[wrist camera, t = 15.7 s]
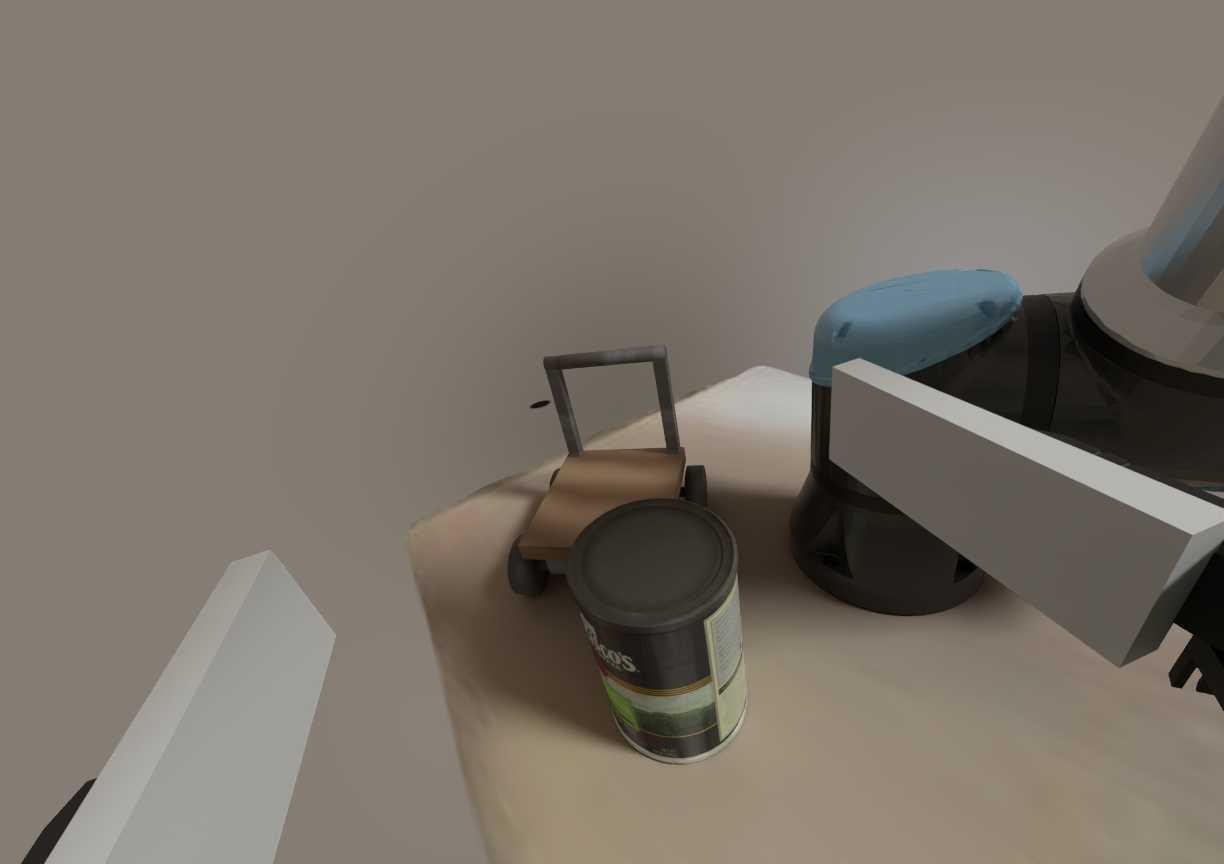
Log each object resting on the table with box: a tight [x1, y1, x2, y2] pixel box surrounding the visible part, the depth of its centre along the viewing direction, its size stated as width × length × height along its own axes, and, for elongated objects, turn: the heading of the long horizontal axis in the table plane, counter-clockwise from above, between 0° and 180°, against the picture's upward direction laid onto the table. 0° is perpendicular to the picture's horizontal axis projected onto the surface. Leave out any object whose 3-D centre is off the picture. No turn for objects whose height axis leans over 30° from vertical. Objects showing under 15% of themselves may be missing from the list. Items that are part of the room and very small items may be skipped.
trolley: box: [508, 345, 707, 595], centre depth 45 cm, size 17×17×19 cm
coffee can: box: [566, 498, 748, 764], centre depth 32 cm, size 10×10×14 cm
